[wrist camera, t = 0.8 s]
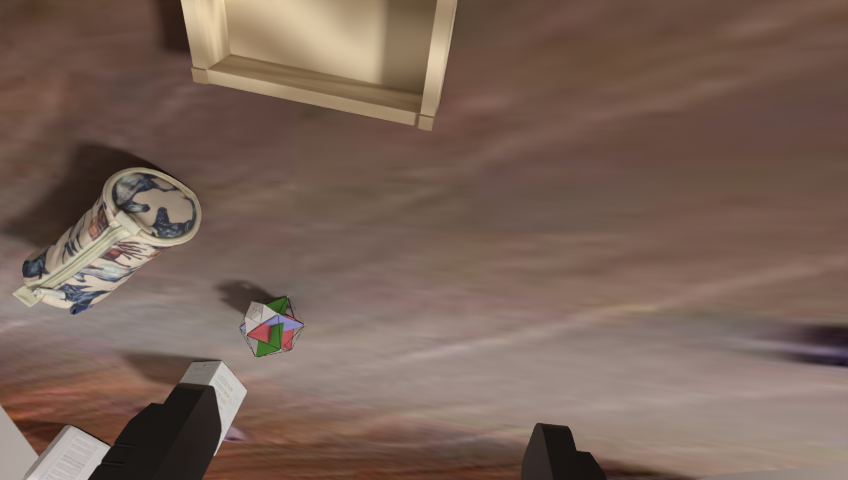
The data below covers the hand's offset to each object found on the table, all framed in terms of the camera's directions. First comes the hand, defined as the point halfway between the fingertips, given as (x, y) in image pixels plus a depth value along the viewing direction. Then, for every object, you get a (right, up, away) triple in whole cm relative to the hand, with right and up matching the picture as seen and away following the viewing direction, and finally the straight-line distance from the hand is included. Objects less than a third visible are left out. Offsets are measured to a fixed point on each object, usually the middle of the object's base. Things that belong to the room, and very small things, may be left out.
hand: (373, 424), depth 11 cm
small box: (-30, -16, +58) cm, 68 cm away
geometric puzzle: (-16, -4, +45) cm, 48 cm away
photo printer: (-69, -36, +82) cm, 113 cm away
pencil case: (-31, +7, +39) cm, 50 cm away
